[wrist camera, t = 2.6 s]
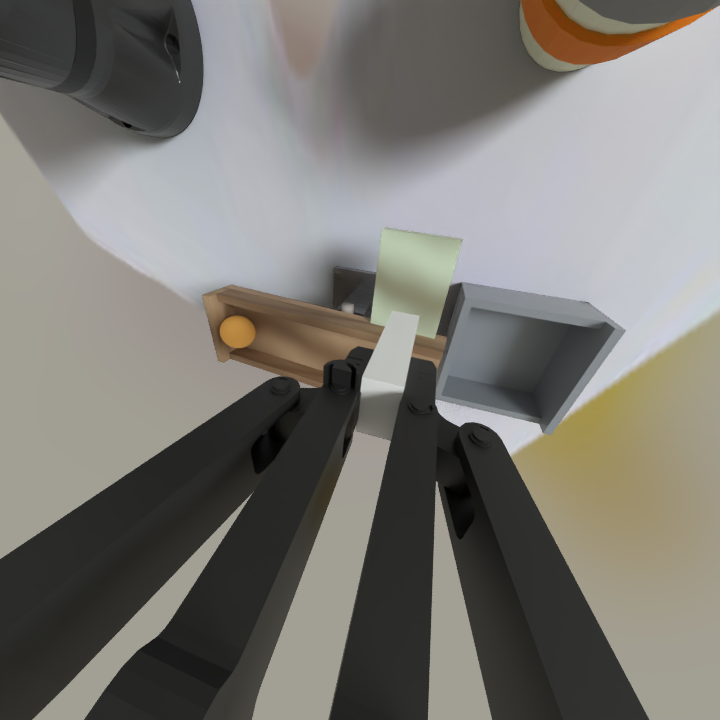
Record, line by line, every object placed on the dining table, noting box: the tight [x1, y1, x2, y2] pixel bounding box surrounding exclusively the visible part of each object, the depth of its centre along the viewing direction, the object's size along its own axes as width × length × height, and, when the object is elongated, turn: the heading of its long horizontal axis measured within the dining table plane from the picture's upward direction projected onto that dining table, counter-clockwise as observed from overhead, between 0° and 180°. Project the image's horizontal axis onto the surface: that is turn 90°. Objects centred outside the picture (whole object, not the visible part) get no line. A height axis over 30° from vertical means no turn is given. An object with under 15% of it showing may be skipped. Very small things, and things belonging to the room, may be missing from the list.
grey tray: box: [435, 282, 626, 435], centre depth 30 cm, size 13×13×7 cm
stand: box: [333, 266, 376, 318], centre depth 33 cm, size 12×8×7 cm, turn 175°
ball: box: [220, 315, 256, 348], centre depth 29 cm, size 4×4×4 cm
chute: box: [202, 228, 463, 388], centre depth 26 cm, size 17×24×5 cm
